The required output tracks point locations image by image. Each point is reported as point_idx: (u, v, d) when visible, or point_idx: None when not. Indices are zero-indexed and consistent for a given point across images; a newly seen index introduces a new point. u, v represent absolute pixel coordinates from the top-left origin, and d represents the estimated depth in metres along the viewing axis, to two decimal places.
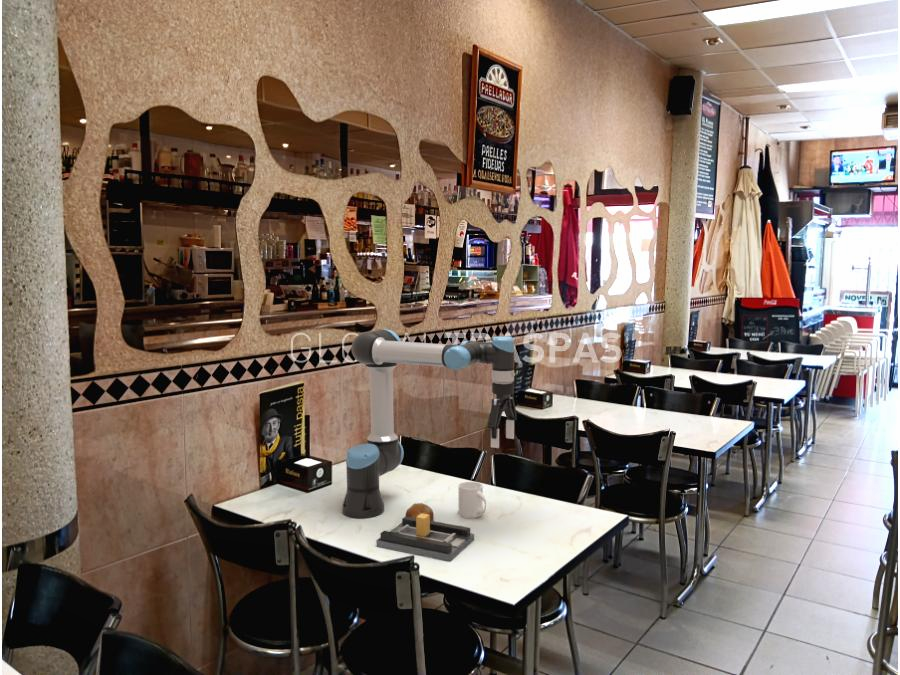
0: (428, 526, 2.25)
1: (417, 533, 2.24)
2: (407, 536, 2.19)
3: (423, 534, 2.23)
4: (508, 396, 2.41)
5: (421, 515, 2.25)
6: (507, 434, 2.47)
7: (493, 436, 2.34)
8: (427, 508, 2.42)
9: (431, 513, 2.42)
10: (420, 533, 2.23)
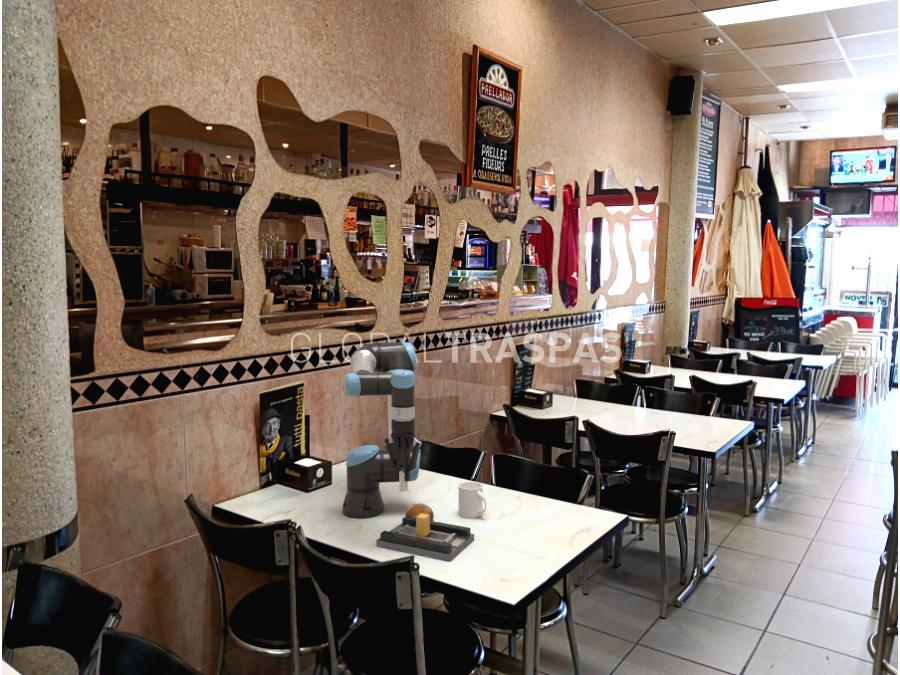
0: (428, 526, 2.25)
1: (417, 533, 2.24)
2: (407, 536, 2.19)
3: (423, 534, 2.23)
4: (409, 435, 2.22)
5: (421, 515, 2.25)
6: None
7: None
8: (427, 508, 2.42)
9: (431, 513, 2.42)
10: (420, 533, 2.23)
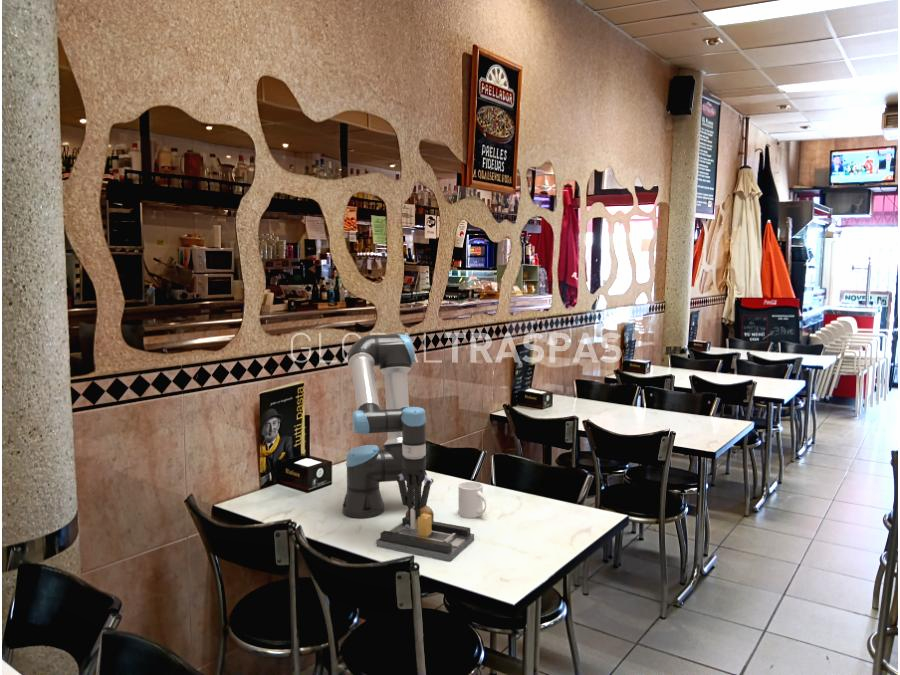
0: (430, 526, 2.25)
1: (419, 533, 2.23)
2: (407, 536, 2.19)
3: (425, 534, 2.22)
4: (420, 473, 2.22)
5: (423, 515, 2.24)
6: None
7: None
8: (427, 508, 2.42)
9: (431, 513, 2.42)
10: (421, 533, 2.23)
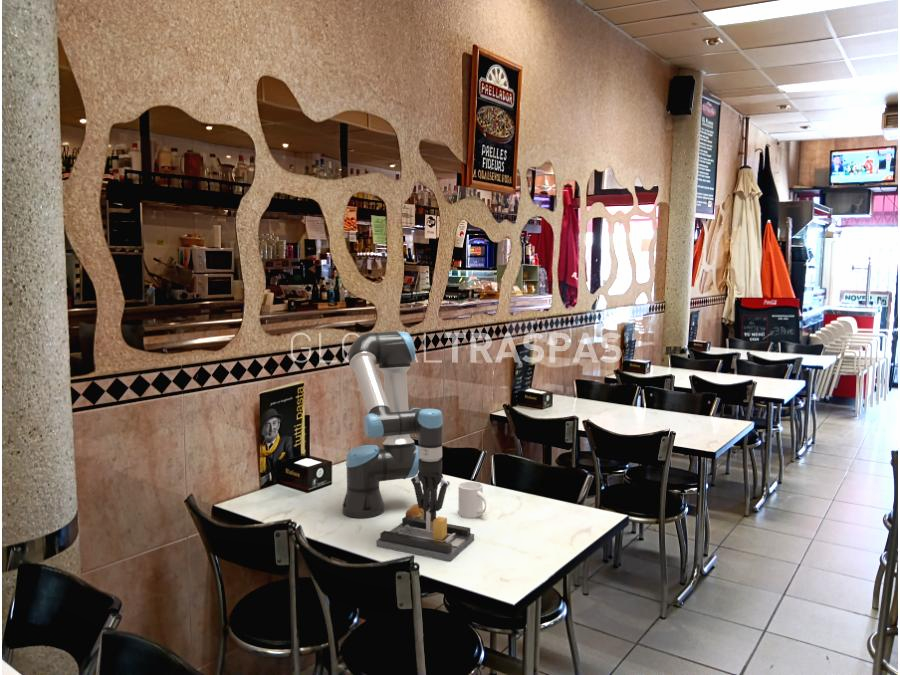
0: (445, 529, 2.22)
1: (434, 536, 2.21)
2: (407, 536, 2.19)
3: (440, 537, 2.20)
4: (436, 475, 2.19)
5: (438, 518, 2.22)
6: None
7: None
8: None
9: None
10: (437, 536, 2.21)
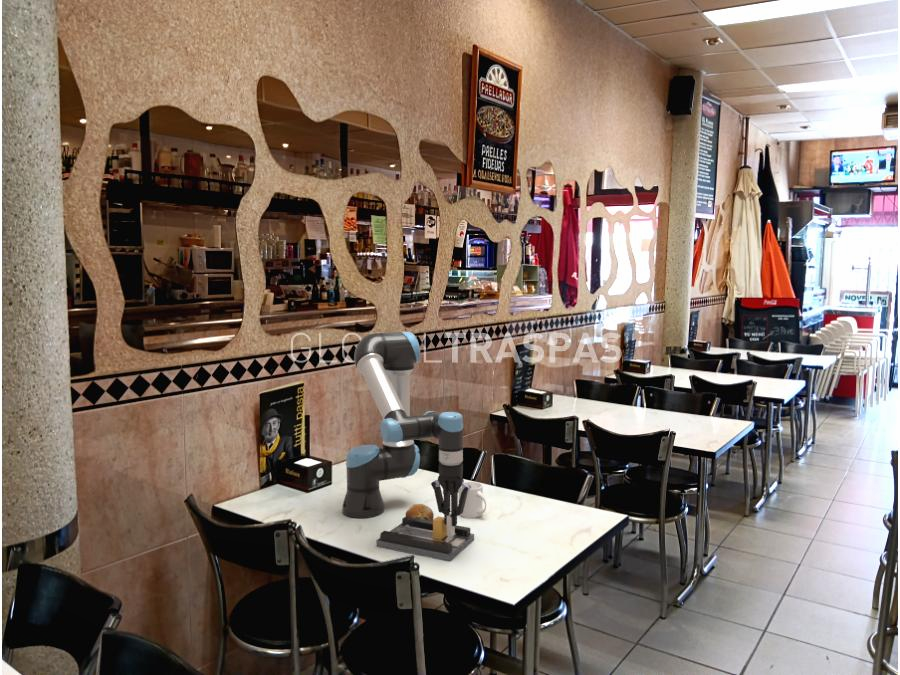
0: (445, 529, 2.22)
1: (434, 536, 2.21)
2: (407, 536, 2.19)
3: (440, 537, 2.20)
4: (457, 479, 2.16)
5: (438, 518, 2.22)
6: None
7: None
8: (427, 509, 2.42)
9: (431, 514, 2.41)
10: (436, 536, 2.21)
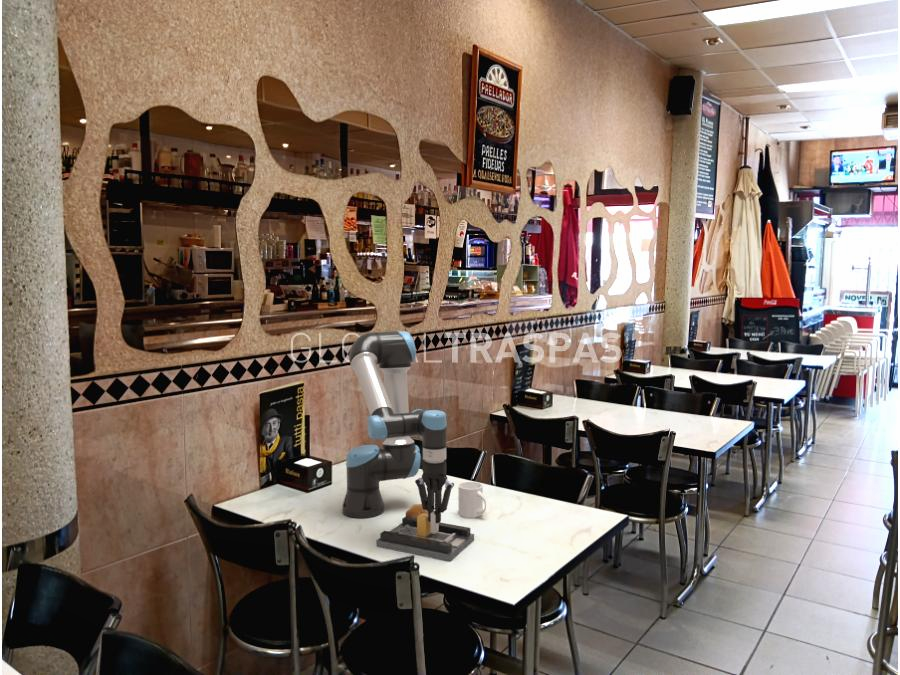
0: (429, 526, 2.25)
1: (418, 533, 2.24)
2: (407, 536, 2.19)
3: (424, 534, 2.23)
4: (440, 477, 2.19)
5: (422, 515, 2.24)
6: None
7: None
8: None
9: None
10: (421, 533, 2.23)
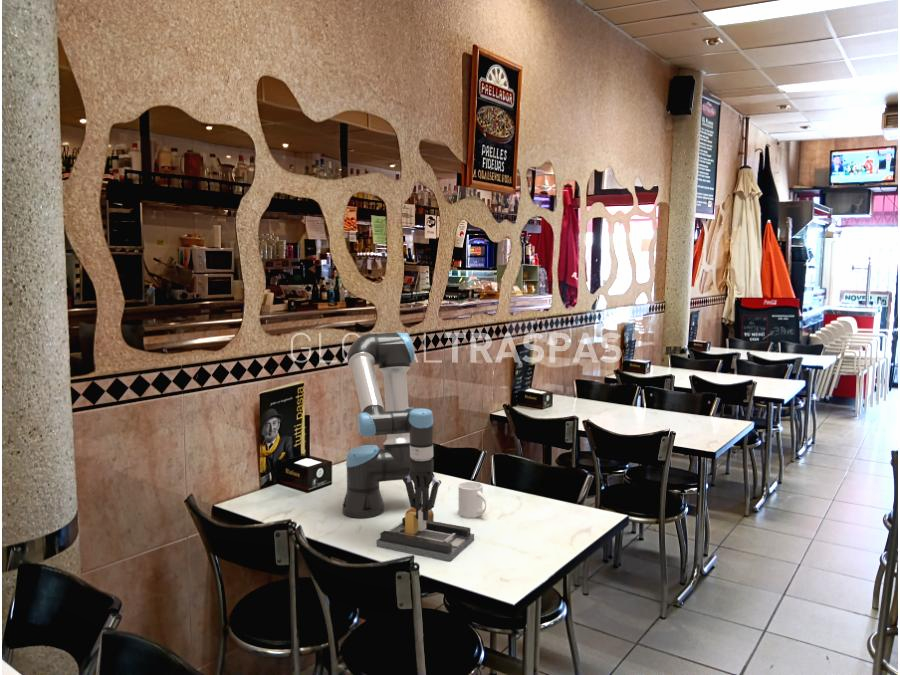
0: (417, 524, 2.27)
1: (406, 531, 2.25)
2: (407, 536, 2.19)
3: (412, 532, 2.25)
4: (427, 475, 2.21)
5: (410, 513, 2.26)
6: None
7: None
8: None
9: (431, 514, 2.41)
10: (408, 530, 2.25)
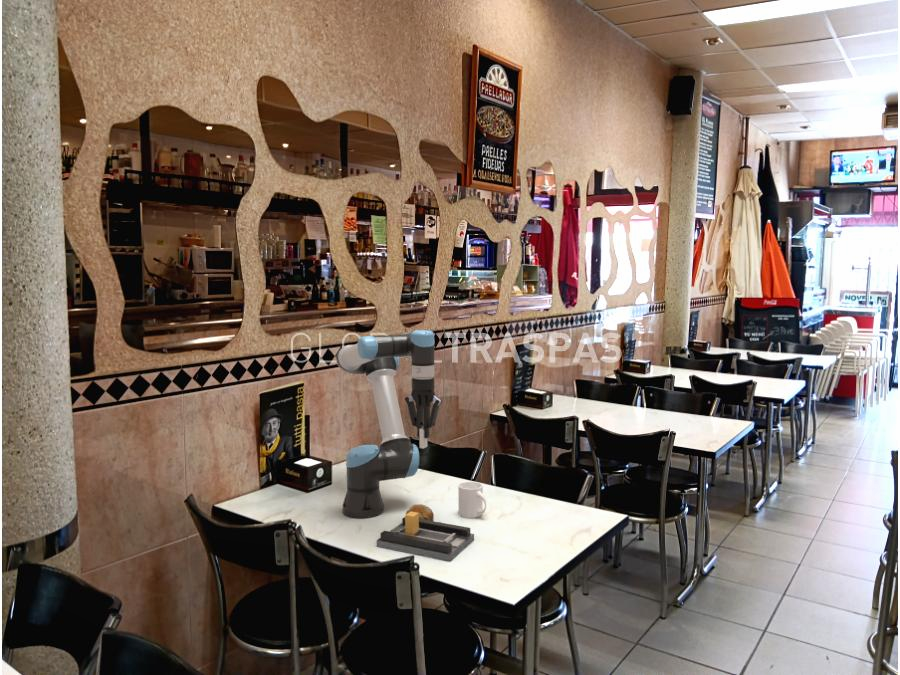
0: (417, 524, 2.27)
1: (406, 531, 2.25)
2: (407, 536, 2.19)
3: (412, 532, 2.25)
4: (428, 393, 2.29)
5: (410, 513, 2.26)
6: None
7: None
8: (427, 509, 2.41)
9: (431, 514, 2.41)
10: (409, 530, 2.25)
